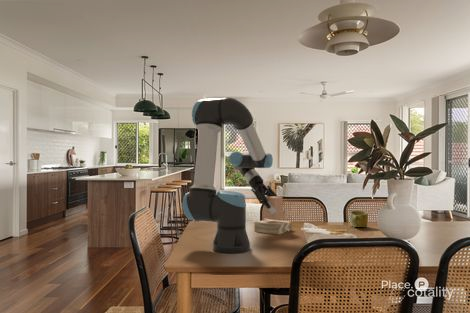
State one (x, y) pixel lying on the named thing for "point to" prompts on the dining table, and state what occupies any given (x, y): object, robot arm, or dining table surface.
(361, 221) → the mug
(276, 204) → the terracotta block
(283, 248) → the dining table surface
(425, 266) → the dining table surface
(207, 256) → the dining table surface
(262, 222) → the ash block
